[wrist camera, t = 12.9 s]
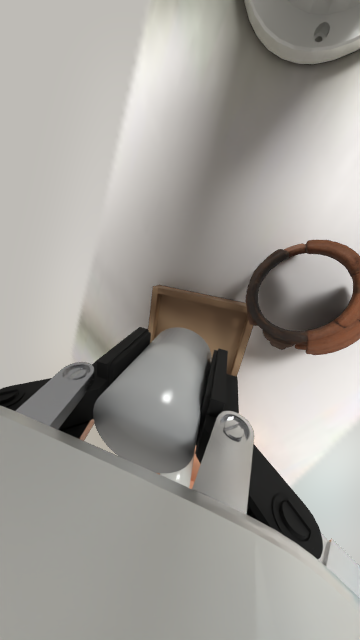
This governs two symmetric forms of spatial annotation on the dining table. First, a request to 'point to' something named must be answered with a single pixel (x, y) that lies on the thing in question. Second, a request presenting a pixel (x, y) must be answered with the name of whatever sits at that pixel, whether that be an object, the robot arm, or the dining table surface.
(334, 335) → the brown piece
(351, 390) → the dining table surface
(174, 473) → the stone
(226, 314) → the tray
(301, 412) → the dining table surface
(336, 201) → the dining table surface
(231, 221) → the dining table surface
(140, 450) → the stone
